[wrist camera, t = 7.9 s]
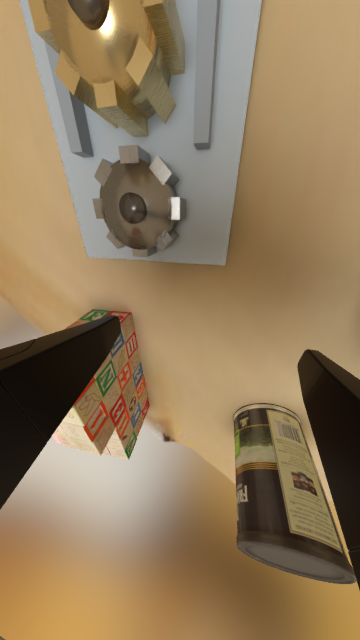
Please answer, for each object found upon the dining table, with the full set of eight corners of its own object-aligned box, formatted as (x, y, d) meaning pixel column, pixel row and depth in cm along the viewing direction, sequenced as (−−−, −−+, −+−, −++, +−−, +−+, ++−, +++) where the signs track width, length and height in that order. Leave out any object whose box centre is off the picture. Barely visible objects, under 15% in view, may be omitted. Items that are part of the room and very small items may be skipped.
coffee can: (233, 434, 33) (237, 556, 21) (232, 399, 28) (236, 534, 16) (296, 443, 30) (340, 591, 18) (307, 407, 25) (377, 577, 13)
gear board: (279, -136, 8) (298, -264, 6) (225, 262, 17) (225, 269, 15) (21, -45, 11) (-30, -108, 9) (94, 255, 20) (78, 260, 18)
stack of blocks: (150, 405, 35) (118, 486, 24) (122, 400, 36) (80, 474, 26) (131, 311, 24) (58, 386, 13) (91, 307, 25) (-3, 373, 15)
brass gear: (186, -47, 9) (149, -275, 5) (184, 133, 13) (161, 92, 8) (77, -16, 10) (-29, -175, 6) (102, 140, 14) (46, 107, 10)
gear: (187, 152, 13) (177, 137, 10) (185, 253, 17) (177, 260, 14) (101, 157, 14) (75, 146, 12) (117, 250, 18) (100, 256, 16)
